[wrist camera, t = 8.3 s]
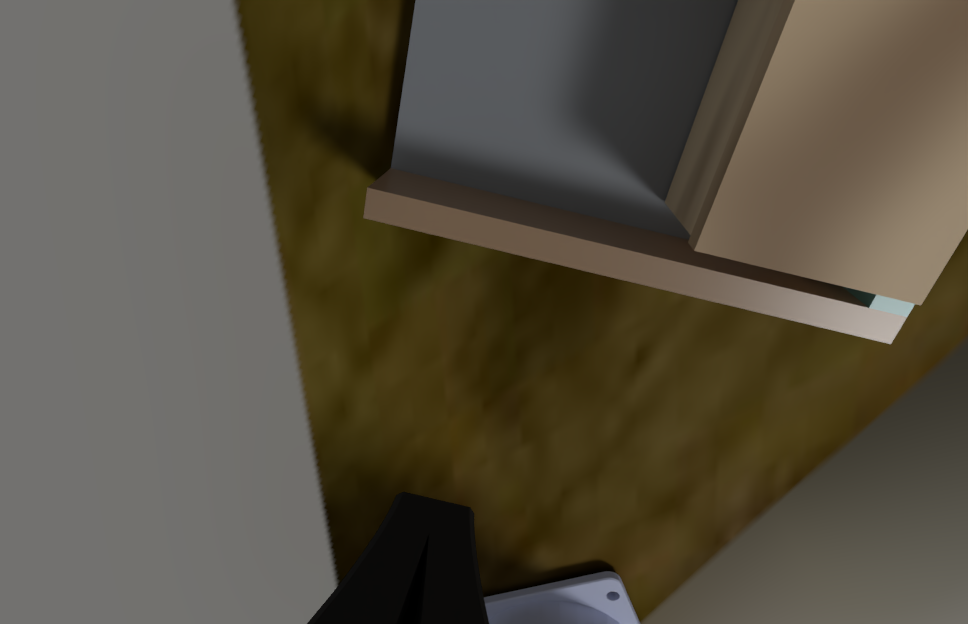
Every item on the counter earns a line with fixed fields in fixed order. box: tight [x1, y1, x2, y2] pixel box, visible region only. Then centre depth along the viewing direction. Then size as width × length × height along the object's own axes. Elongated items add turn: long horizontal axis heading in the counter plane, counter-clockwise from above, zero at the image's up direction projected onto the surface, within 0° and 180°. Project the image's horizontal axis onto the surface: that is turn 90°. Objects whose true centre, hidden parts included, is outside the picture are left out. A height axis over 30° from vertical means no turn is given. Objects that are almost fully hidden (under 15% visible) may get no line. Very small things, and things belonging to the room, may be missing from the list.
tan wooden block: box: [665, 0, 968, 305], centre depth 13 cm, size 5×6×4 cm
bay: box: [364, 0, 915, 344], centre depth 14 cm, size 14×9×3 cm, turn 78°
